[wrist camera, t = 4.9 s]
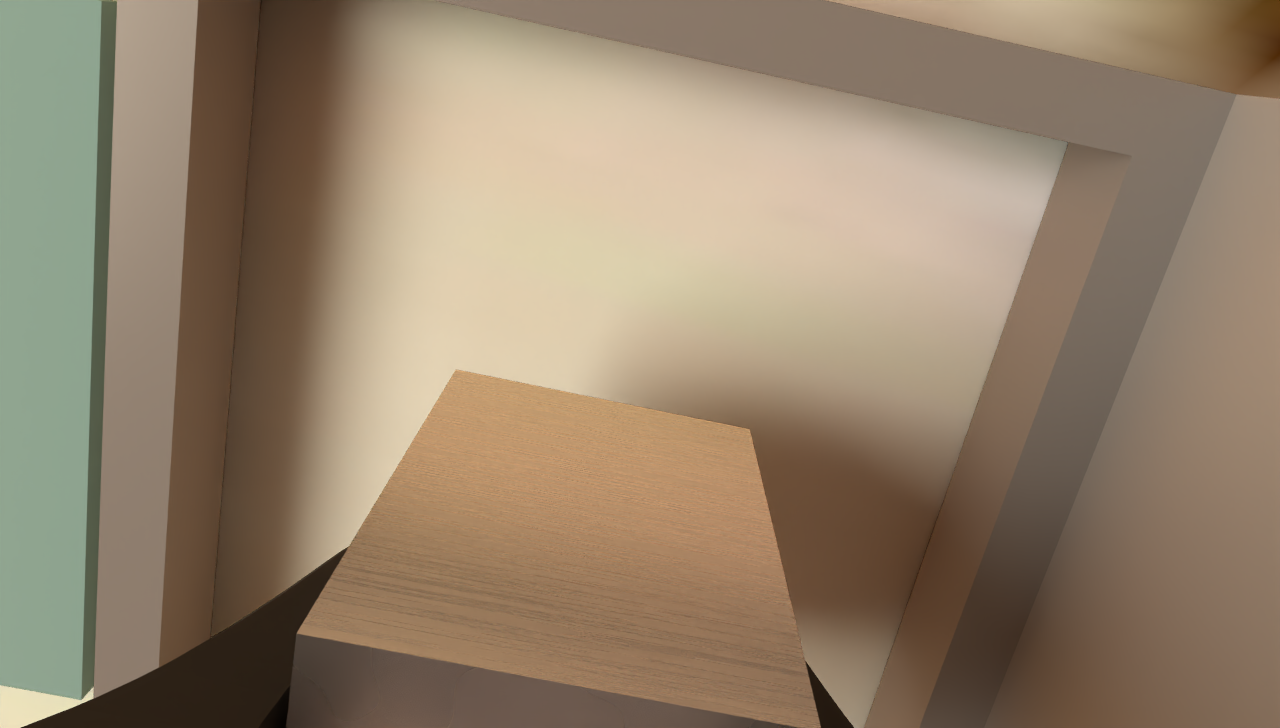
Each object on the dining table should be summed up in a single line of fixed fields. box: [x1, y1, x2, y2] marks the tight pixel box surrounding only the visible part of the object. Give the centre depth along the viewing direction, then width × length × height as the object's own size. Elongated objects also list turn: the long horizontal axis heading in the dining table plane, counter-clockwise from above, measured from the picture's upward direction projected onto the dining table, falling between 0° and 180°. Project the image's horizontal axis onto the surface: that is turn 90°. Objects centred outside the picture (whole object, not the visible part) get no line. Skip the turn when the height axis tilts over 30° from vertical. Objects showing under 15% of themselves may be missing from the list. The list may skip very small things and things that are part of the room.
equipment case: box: [94, 0, 1280, 728], centre depth 12 cm, size 16×15×9 cm
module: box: [286, 370, 821, 728], centre depth 11 cm, size 5×4×6 cm
